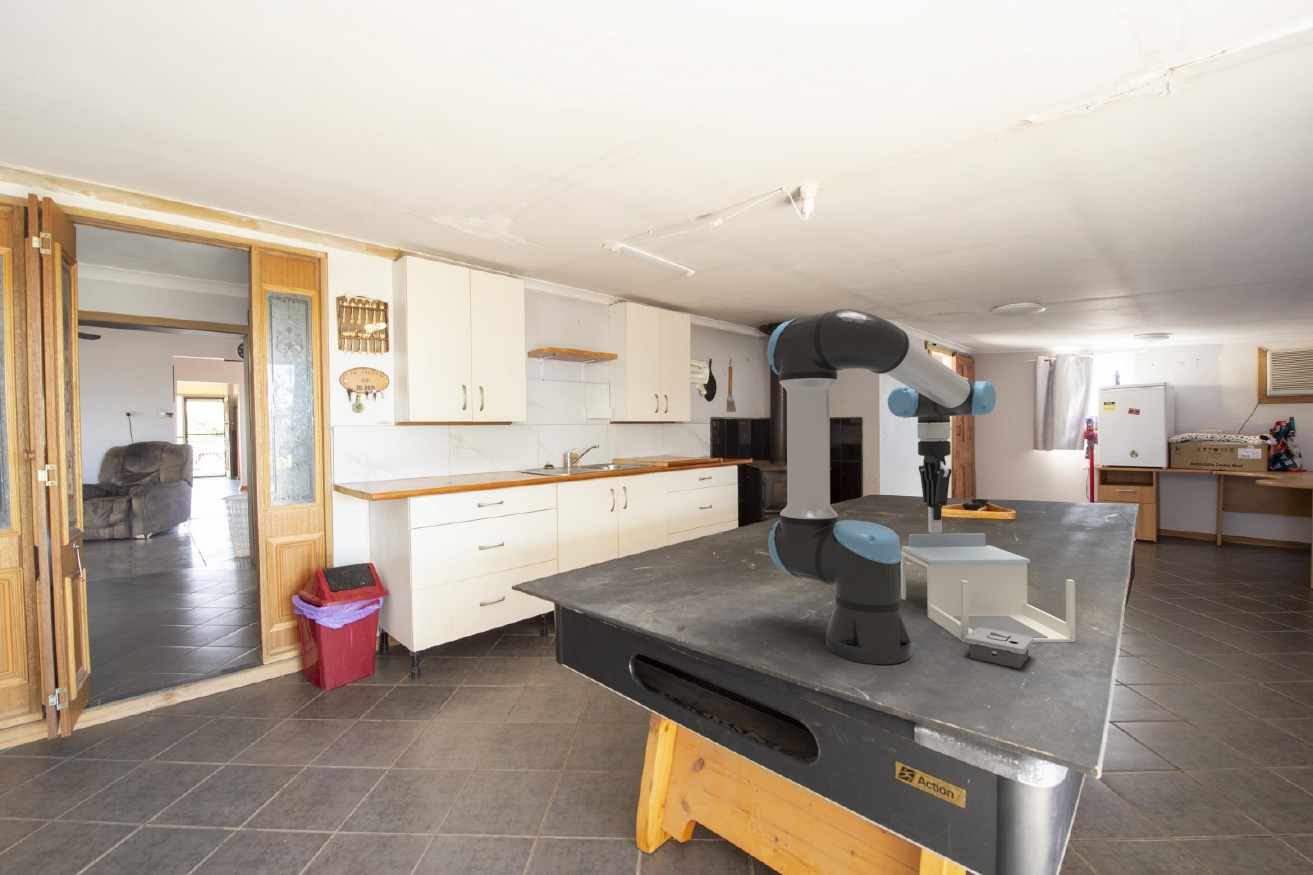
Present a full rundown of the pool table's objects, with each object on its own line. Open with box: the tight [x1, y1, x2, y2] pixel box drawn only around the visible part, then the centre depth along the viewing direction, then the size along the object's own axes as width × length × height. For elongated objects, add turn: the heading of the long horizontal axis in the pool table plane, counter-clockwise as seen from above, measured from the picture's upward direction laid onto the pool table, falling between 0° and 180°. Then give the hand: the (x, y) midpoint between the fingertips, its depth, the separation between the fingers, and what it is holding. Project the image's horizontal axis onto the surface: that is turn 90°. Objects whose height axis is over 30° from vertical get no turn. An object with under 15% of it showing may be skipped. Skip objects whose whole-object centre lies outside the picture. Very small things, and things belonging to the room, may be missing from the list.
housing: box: [900, 549, 1076, 643], centre depth 126 cm, size 22×29×12 cm
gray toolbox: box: [964, 627, 1035, 669], centre depth 104 cm, size 9×5×9 cm
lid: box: [901, 532, 1031, 564], centre depth 132 cm, size 22×15×4 cm
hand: (935, 532), depth 146 cm, fingers closed
